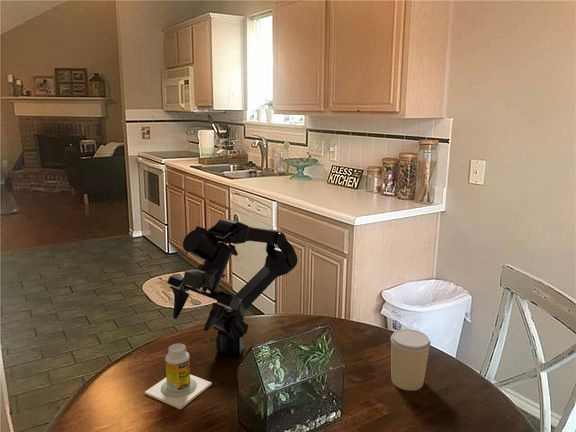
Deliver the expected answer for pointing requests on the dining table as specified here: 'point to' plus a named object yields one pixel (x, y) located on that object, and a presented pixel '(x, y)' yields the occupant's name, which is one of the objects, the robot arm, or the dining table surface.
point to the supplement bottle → (177, 368)
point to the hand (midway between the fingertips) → (189, 324)
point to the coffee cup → (409, 358)
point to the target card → (180, 397)
